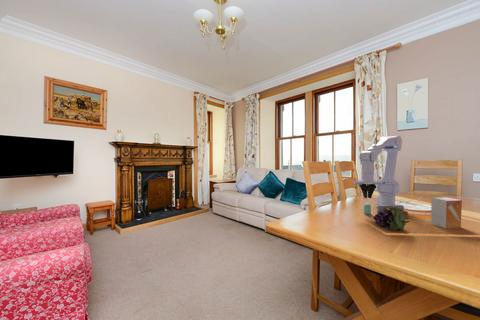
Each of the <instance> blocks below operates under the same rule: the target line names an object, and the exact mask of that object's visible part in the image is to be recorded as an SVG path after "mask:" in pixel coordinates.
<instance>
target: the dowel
mask: <svg viewBox="0 0 480 320" xmlns="http://www.w3.org/2000/svg"><path fill="white" fill-rule="evenodd" d="M371 211H372V204H371V203H366V202H365V203H363V214H364V215H371V214H372V212H371Z"/></svg>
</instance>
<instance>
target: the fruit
mask: <svg viewBox="0 0 480 320" xmlns="http://www.w3.org/2000/svg"><path fill="white" fill-rule="evenodd" d="M372 218H373V220H375V223H376V224H377V225H379V226H380V227H384V228H385V229H386V230H389V231H390V230H394V231H397V230H400V231H404V230H405V226H407V224H408V223H410V220H409V221H408V220H406V218H404V216H403V213H401V211H399V209H398V208H397V209H396V210H394V209H393V210H391V209H390V210H385V212H384V213H382V212H378V213H377V214H375V215H373V216H372Z"/></svg>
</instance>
